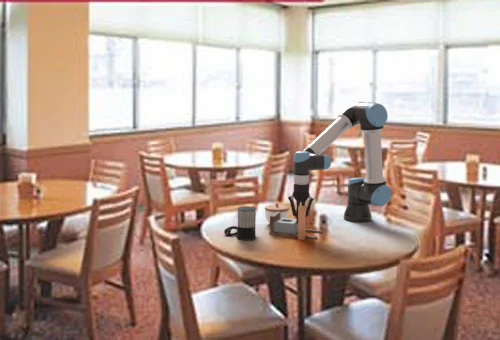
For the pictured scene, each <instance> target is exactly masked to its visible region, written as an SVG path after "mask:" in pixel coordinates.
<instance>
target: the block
mask: <svg viewBox="0 0 500 340" xmlns="http://www.w3.org/2000/svg"><path fill="white" fill-rule="evenodd" d="M296 220H297V218H279V219H277V220H276V221H275V222H274V232H279V233H289V234H298V224H297V223H296Z"/></svg>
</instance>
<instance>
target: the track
mask: <svg viewBox="0 0 500 340" xmlns="http://www.w3.org/2000/svg"><path fill="white" fill-rule="evenodd" d="M279 218H280V212H275V213H274V214H272V215H271V216H270V223H269V232H268V234H269V235H274V236H284V237H291V238H292V237H293V238H298V233H296V234H289V233H279V232H274V222H275V221H276V220H277V219H279ZM306 232H307V233H315V234H316V233H317V234H324V230H320V229H319V230H318V229H308V228H305V233H306ZM305 239H312V240H318V236H317V235H316V236H315V235H308V234H305Z"/></svg>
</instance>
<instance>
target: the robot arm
mask: <svg viewBox="0 0 500 340" xmlns="http://www.w3.org/2000/svg"><path fill="white" fill-rule="evenodd" d="M387 121H388V111H387V108H386V107H385V106H384V105H383V104H381V103H377V102H372V101H371V102H366V101H358V102H355V103H353V104H351V105H350V106H347V107H346V108H345V109H344V110H343V111H342V112H341V113H340V114H338V116H337V119H336V120H334V121H333V122H332V124H330V125H329V126H328V127H327V128H326V129H325V130H324V131H323V132H321V133H320V134H319V135H318V136H317V137H316V138H315V139H314V140H313V141H312V142H311V143H309V145H307V146H306V147H305V148H304V149H303V150H297V151H295V153H294V155H293V157H292V158H293V160H292V161H293V192H292V195H289V196H288V197H287V199H288V201H289V204H290V208H291V212H292V216H293V217H295V219H297V220H296V223H297V224H298V208H299V206H306V202H307V200H308V203H307V206H306V218H307V217H309V214H310V210H311V207H312V204H313V201H314V200H315V198H314V197H312V196H311V194H310V184H309V183H310V171H325V170H328V169H330V167H331V165H332V159H331V157H330V156H329V154H324V153H323V152H324V151H326V150H327V149H328V147H330V146H331V145H332V144H333V143H334V142H336V140H338V138H340V137H341V136H342V135H343V134H344V133H345V132H346V131H347V130H350V129H352V128H353V127H355V126H357V125H360V126H359V127H360V131H361V132H363V143H364V157H365V158H364V161H365V162H364V163H365V172H366V173H365V177H352V178H349V180H348V182H347V205H346V207H345V210H344V213H343V220H345V221H348V222H353V223H356V222H357V223H366V222H367V223H368V222H371V221H372V219H373V218H372V217H373V216H372V211H371V209H370V205H372V206H375V207H383V206H385V205H386V204H387V205H388V202H390V200H391V197H392V189H391V187H390V186H388V185H387V179H386V178H385V177H384V173H383V172H384V171H383V170H384V168H383V152H382V135H381V133H382V130H383V129H384V125H385V124H386V123H387ZM294 200H295V201H294ZM295 202H296V205H295Z"/></svg>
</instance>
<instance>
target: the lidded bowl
mask: <svg viewBox="0 0 500 340" xmlns="http://www.w3.org/2000/svg"><path fill="white" fill-rule="evenodd" d="M289 211H290V206H287V205H284V204H283V205H282V204H279V203H278V202H276V203H275V204H269V205H265V206H264V214H265V215H264V216H265V219H266V221H267V222H268V223H269V224H270V216H271V215H272V214H274V213H275V212H280V218H288V217H289V213H290V212H289Z"/></svg>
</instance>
